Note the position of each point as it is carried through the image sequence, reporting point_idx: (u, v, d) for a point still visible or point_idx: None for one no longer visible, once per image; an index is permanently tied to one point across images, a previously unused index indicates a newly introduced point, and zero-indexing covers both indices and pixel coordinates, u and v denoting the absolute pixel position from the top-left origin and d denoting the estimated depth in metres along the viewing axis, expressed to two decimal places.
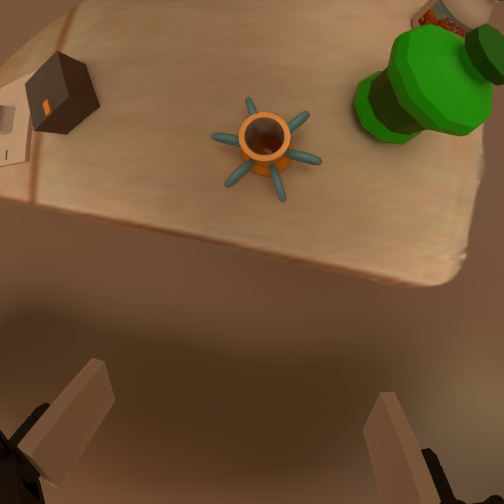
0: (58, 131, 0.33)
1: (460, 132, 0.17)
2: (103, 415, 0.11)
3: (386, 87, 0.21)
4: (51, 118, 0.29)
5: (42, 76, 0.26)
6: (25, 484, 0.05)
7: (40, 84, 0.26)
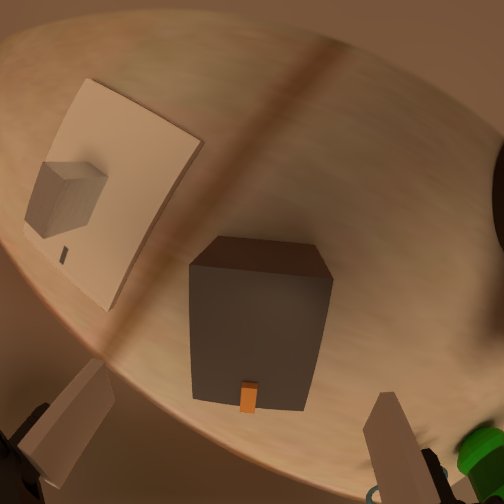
0: None
1: None
2: (103, 415, 0.11)
3: (488, 484, 0.16)
4: None
5: (260, 310, 0.16)
6: (25, 484, 0.05)
7: (244, 324, 0.16)
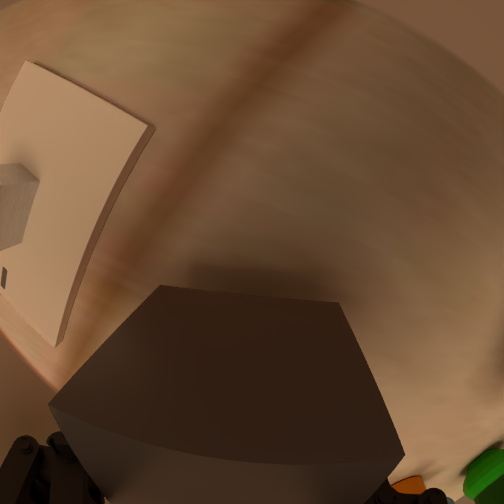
0: None
1: None
2: None
3: None
4: None
5: (220, 500, 0.05)
6: (87, 488, 0.06)
7: None
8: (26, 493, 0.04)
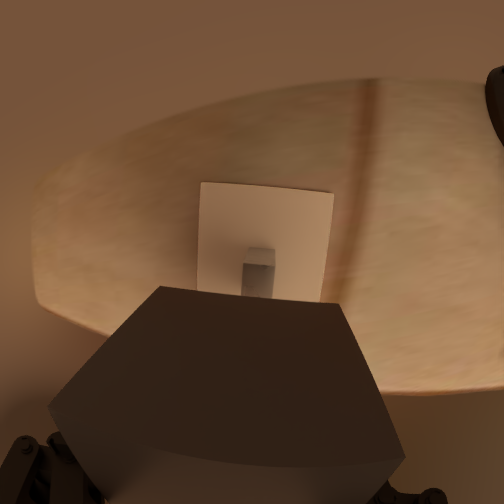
0: None
1: None
2: None
3: None
4: None
5: (220, 502, 0.05)
6: (87, 488, 0.06)
7: None
8: (26, 493, 0.04)
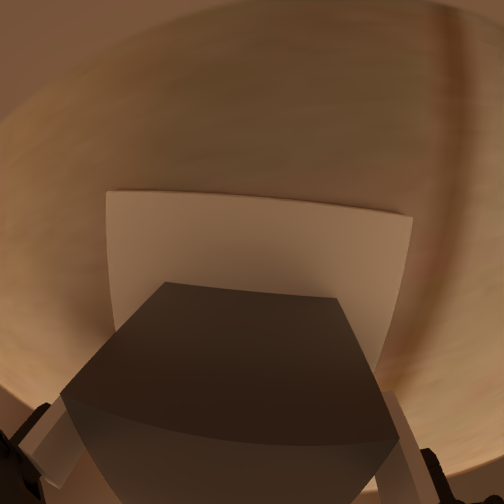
0: None
1: None
2: None
3: None
4: None
5: (224, 486, 0.05)
6: (26, 484, 0.05)
7: (196, 494, 0.06)
8: None
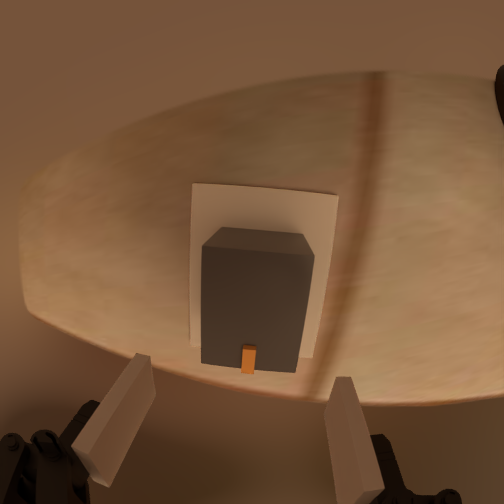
0: None
1: None
2: (146, 409, 0.12)
3: None
4: None
5: (257, 282, 0.20)
6: (72, 487, 0.06)
7: (245, 294, 0.20)
8: (14, 490, 0.04)
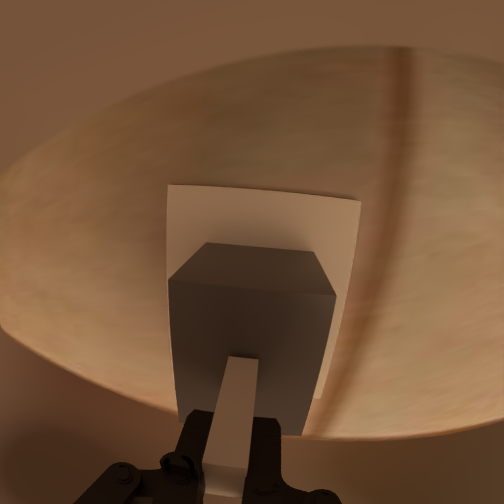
0: None
1: None
2: None
3: None
4: None
5: (250, 332, 0.13)
6: None
7: (233, 347, 0.13)
8: None
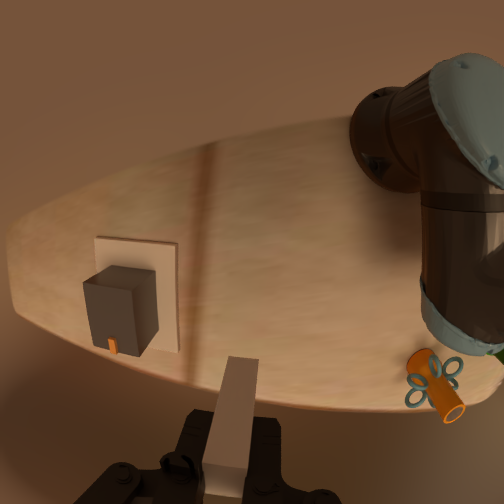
0: None
1: None
2: None
3: None
4: None
5: (108, 302, 0.33)
6: None
7: (104, 308, 0.33)
8: None
